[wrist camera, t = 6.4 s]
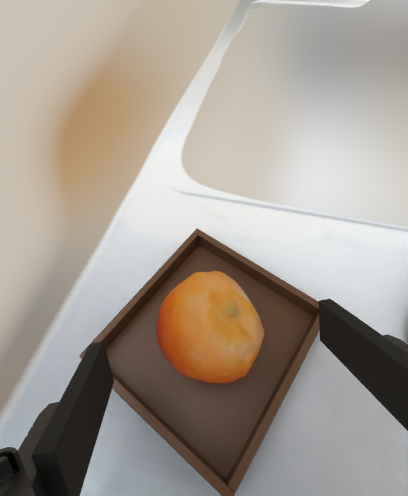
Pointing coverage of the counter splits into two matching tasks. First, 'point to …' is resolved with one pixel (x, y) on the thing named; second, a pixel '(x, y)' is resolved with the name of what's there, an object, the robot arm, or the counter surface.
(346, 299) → the counter surface
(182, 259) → the tray
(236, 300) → the fruit
